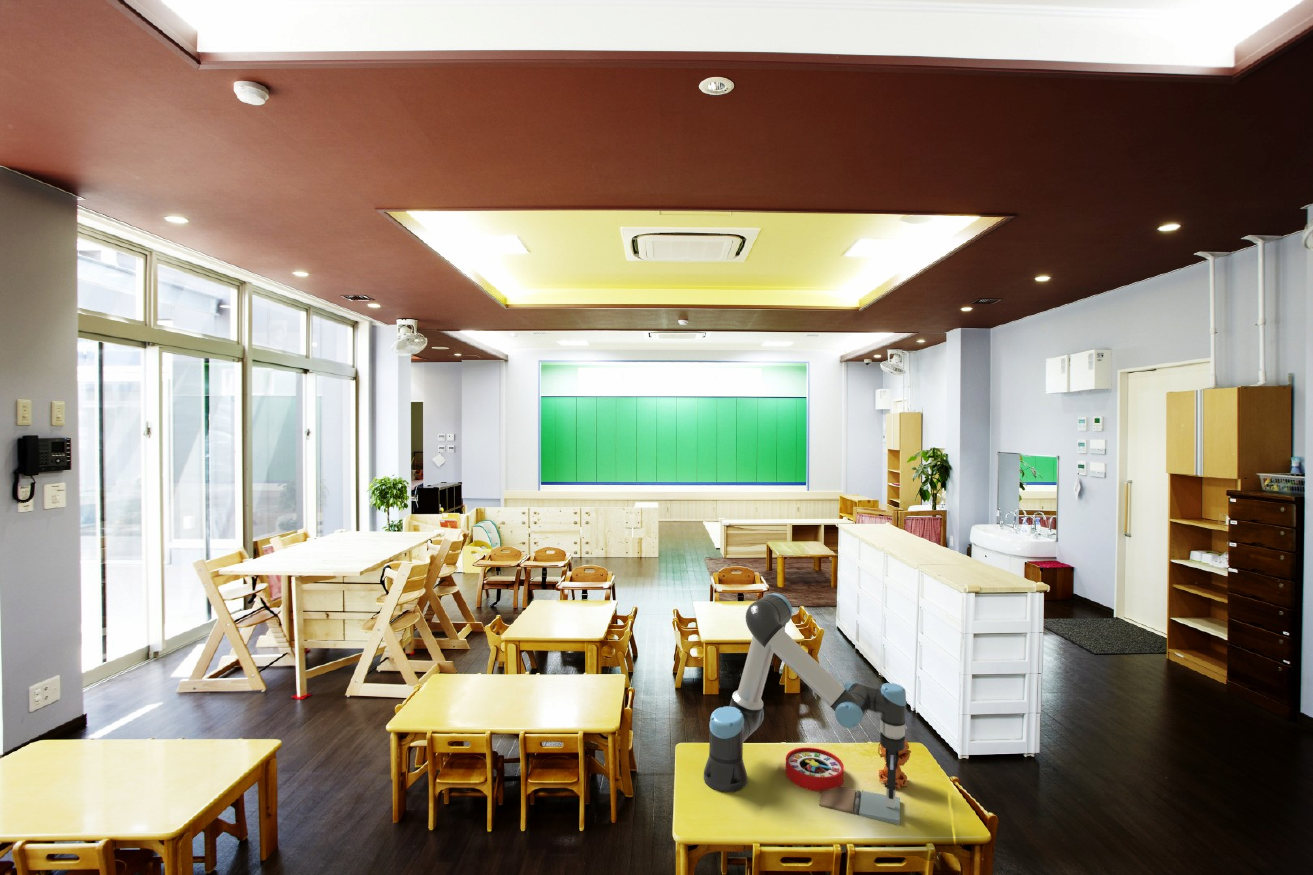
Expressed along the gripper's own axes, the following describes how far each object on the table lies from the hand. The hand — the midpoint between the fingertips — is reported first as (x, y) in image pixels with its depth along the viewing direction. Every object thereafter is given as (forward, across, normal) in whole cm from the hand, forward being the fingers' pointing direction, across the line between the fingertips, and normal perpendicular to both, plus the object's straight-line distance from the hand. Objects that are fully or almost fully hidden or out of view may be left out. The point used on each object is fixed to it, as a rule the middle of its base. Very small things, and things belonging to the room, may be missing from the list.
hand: (890, 806), depth 201 cm
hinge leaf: (+2, 0, +4) cm, 4 cm away
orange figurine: (+3, +18, -1) cm, 18 cm away
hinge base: (+2, 0, +16) cm, 16 cm away
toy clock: (+3, +12, +26) cm, 28 cm away
